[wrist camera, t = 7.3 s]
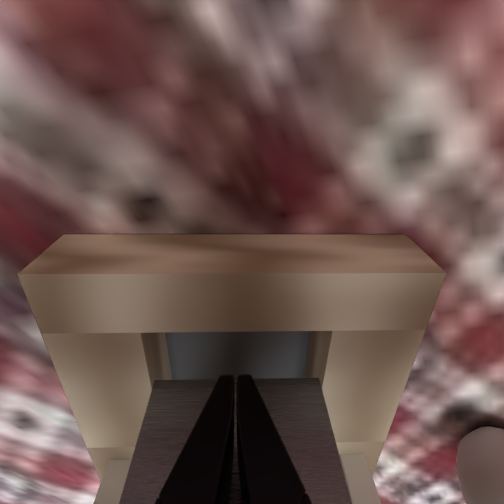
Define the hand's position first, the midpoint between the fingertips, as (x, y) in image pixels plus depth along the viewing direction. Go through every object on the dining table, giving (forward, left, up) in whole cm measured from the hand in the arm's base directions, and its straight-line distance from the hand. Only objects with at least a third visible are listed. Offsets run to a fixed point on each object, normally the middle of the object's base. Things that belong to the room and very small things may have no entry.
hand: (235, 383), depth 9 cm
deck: (0, -13, -6) cm, 14 cm away
